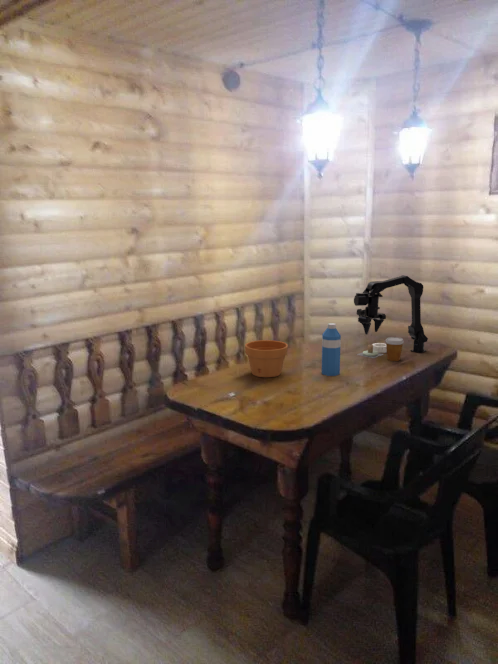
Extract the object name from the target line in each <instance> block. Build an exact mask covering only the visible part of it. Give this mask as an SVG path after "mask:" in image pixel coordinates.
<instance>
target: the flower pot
mask: <svg viewBox="0 0 498 664" xmlns="http://www.w3.org/2000/svg"><path fill="white" fill-rule="evenodd" d="M288 349H289V347H288V343H286V342H283V341H279V340H271V339H270V340H268V339H266V340H265V339H264V340H263V339H262V340H261V339H260V340H253V341H249V342H246V343H245V344H244V350H245V354H246V356H247V359H248V364H249V367H250V371H251V374H252V375H253V376H255V377H258V378H274V377H275V378H276V377H278V376H280V375H281V374H282V372H283V368H284V362H285V358H286V355H287V354H288Z"/></svg>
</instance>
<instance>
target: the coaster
mask: <svg viewBox="0 0 498 664" xmlns="http://www.w3.org/2000/svg"><path fill="white" fill-rule="evenodd" d="M384 355H385V354H384V353H378V355H377V356H365V355H363V351H362V352H360V353H357V354H356V356H361V357H366V358H370V359H375V358H378V357H381V356H384Z"/></svg>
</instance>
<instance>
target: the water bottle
mask: <svg viewBox="0 0 498 664" xmlns="http://www.w3.org/2000/svg"><path fill="white" fill-rule="evenodd" d="M336 327H337V323H333V322H329V323H327V328H326V329H325V331H323V333H322V334H321V335H322V336H321V340H322V341H321V375H324V376H327V377H336V376H339V375H340V373H341V371H340V370H341V342H342V341H341V339H342V336H341V333H340V332H339V331H338V329H337V328H336Z"/></svg>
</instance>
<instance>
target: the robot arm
mask: <svg viewBox="0 0 498 664" xmlns="http://www.w3.org/2000/svg"><path fill="white" fill-rule="evenodd" d="M399 285H404V286H405V287H406V288H407V290H408V294H409V296H410V300H411V303H410V305H411V307H410V308H411V324H410V325H407V328H408V330H407V333H408V335H409V336H410V338H411V340H413V349H411V350H410V351H411V352H414V353H420V354H423V353H425V352H427V349H425V343H427V342H428V339H429V338H428V337H427V336H426V334H425V331H424V327H423V325H422V322H421V321H422V319H421V318H422V317H421V316H422V315H421V313H422V312H421V311H422V310H421V309H422V308H421V298H422V296H423V293H424V285H423V284H422V283H421V282H418V281H416V280H414V279H413V278H411V277H410V276H408V275H402V274H401V275H400V276H397V277H393V278H388V279H385V280H376V281H375V280H374V281H369V282H368V283H367V286H366V287H365V288H364V290H363V292H356V293H355V295H354V298H353V304H354V306H356V307H358V306H359V307H361V306H365V309H362V308H358V309H356V315H357V316H358V317H357V322H358V323H360V324H361V325H362V327H363V330H364V334H365V335H368V334H369V332H370V328H371V326H372V320H373V322H374V333H377V332H378V331H379V330H380V327H381V326H382V324H383V323H384V321H385V320H386V318H387V315H386V313H382V312H379V310H380V308H381V307H380V306H379V301H380V300H379V299H380V298H383V295H382V293H381V292H383V291H384V290H386V289H388V288H392V287H396V286H399Z"/></svg>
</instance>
